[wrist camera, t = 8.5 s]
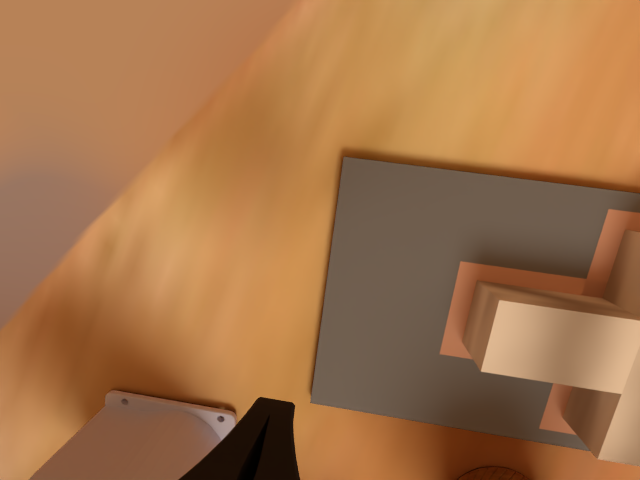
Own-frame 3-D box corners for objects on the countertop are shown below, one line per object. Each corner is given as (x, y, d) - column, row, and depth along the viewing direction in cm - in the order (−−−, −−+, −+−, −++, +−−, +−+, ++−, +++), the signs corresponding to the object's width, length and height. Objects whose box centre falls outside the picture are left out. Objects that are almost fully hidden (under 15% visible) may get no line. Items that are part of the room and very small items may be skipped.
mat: (311, 396, 23) (310, 402, 22) (343, 157, 19) (343, 156, 18) (633, 452, 21) (641, 460, 21) (732, 205, 18) (745, 206, 17)
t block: (448, 398, 21) (463, 435, 18) (493, 212, 18) (520, 220, 15) (629, 429, 20) (676, 472, 17) (703, 239, 18) (773, 253, 15)
